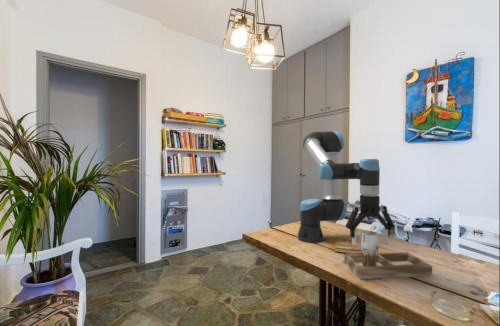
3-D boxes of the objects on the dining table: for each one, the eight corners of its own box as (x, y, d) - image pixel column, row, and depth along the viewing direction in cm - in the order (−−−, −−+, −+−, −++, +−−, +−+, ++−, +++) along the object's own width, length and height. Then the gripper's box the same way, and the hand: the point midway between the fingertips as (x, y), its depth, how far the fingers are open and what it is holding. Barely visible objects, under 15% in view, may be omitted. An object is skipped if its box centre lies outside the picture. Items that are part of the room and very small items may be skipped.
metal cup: (369, 262, 108) (368, 229, 107) (382, 269, 101) (382, 234, 101) (357, 265, 105) (356, 231, 105) (370, 272, 99) (369, 236, 98)
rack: (344, 263, 110) (344, 254, 109) (407, 261, 111) (407, 252, 111) (360, 279, 96) (360, 268, 96) (432, 275, 97) (432, 265, 97)
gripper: (345, 197, 98) (345, 248, 98) (403, 195, 99) (403, 246, 100) (337, 194, 105) (337, 242, 106) (392, 192, 107) (392, 240, 107)
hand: (369, 244), depth 103 cm, fingers open, 13 cm apart
